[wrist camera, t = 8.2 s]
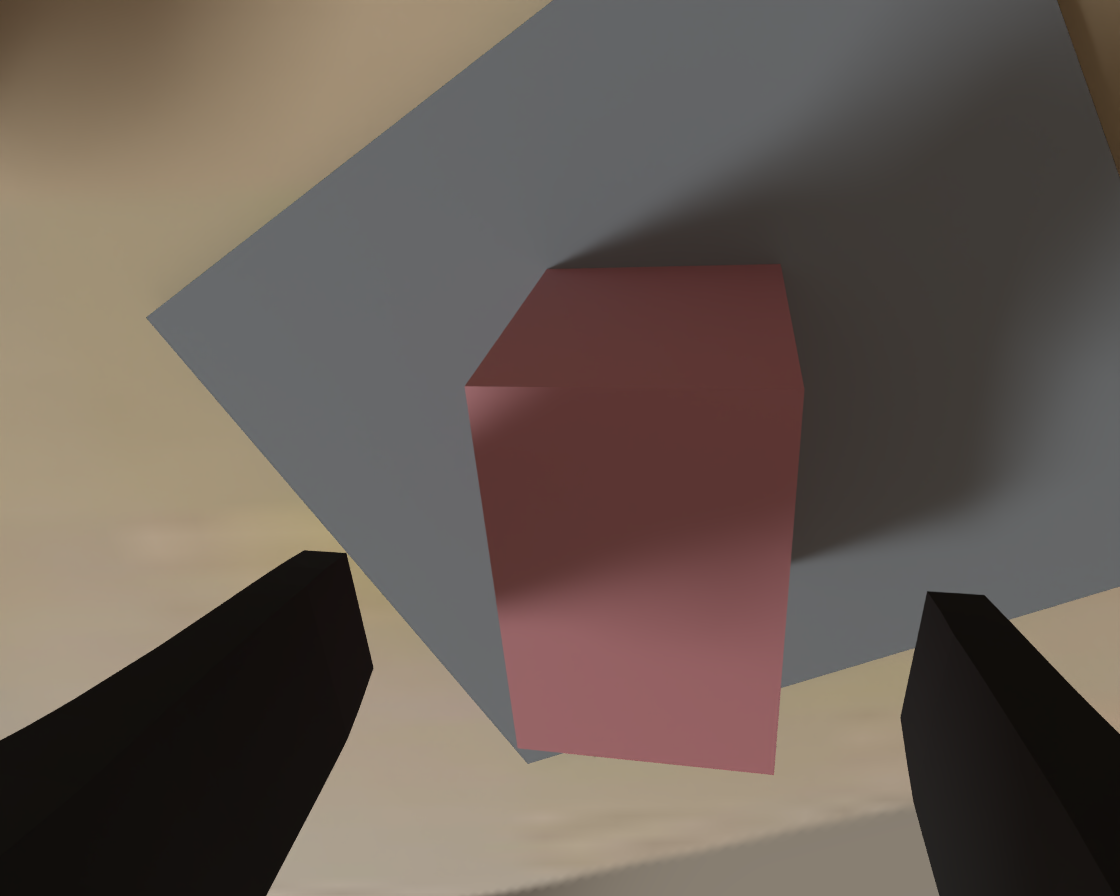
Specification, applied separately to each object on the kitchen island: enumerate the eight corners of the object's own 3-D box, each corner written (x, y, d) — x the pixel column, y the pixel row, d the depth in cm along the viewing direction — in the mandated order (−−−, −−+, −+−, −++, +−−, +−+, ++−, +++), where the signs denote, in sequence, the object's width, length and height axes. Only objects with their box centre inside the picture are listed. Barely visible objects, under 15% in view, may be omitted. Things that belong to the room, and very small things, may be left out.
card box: (571, 561, 17) (517, 748, 13) (546, 268, 14) (464, 386, 10) (762, 571, 16) (773, 774, 12) (780, 264, 13) (804, 389, 9)
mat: (531, 751, 21) (527, 763, 20) (158, 310, 16) (146, 317, 16) (1237, 534, 14) (1250, 547, 14) (940, -297, 10) (947, -307, 9)
